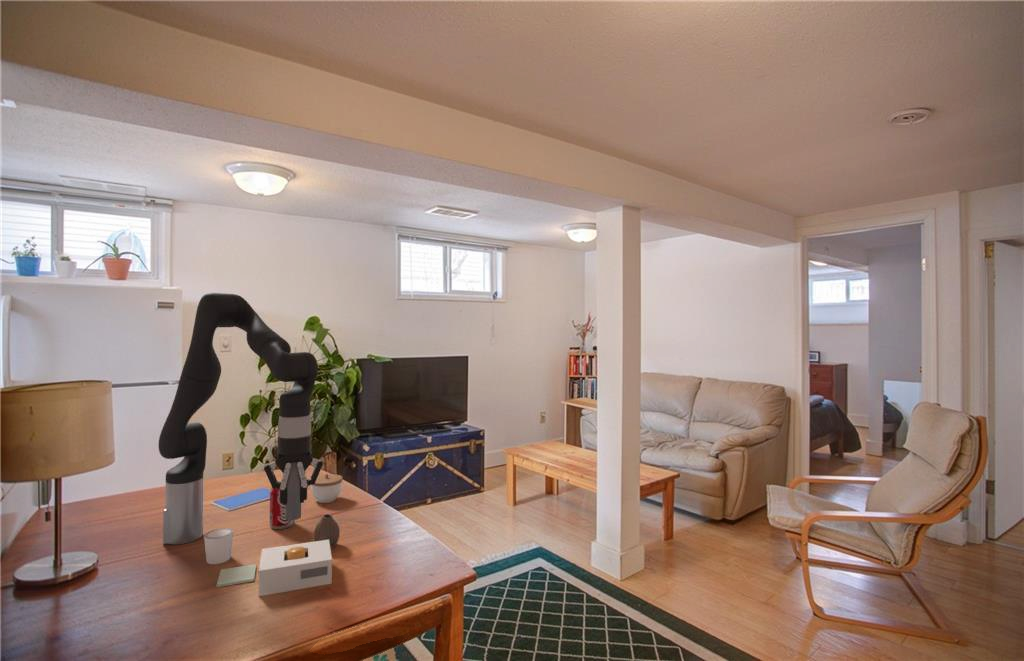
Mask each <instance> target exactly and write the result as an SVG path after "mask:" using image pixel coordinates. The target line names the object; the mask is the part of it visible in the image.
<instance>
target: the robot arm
mask: <svg viewBox="0 0 1024 661" xmlns="http://www.w3.org/2000/svg"><path fill="white" fill-rule="evenodd" d="M196 308H197V309H196V312H195V313H196V314H195V318H194V323H193V324H194V325H193V329H192V334H191V335H192V336H191V340H190V343H189V344H190V345H189V348H188V351H187V355H186V359H185V361H184V365H183V367H182V370H181V374H180V377H179V381H178V384H177V389H176V392H175V396H174V398H173V401H172V404H171V407H170V410H169V413H168V415H167V417H166V419H165V422H164V424H163V426H162V429H161V431H160V435H159V438H158V452H159V454H160V456H161V457H162V458H164V459H167V460H172V459H179V458H183V459H182V460H181V461H180V462H179V463H178V464H176V465H174V466H173V467H171V468H170V469H168V470H167V471H166V473H165V500H164V501H165V506H164V507H165V508H164V510H163V511H162V512H163V513H162V516H163V518H162V523H163V524H162V544H163V545H182V544H183V545H184V544H187V543H190V542H194V541H197V540H199V539H200V538H202V536H204V534H203V531H204V530H203V529H204V516H203V515H204V473H205V470H206V469H205V468H206V464H207V463H206V460H207V448H208V447H207V446H208V435H207V431H206V427H205V426H204V425H203V424H201V423H200V422H190V420H191V418H192V417H193V416H194V415H195V414H196V412H198V410H199V409H201V408H202V407H203V406H204V405H205V404H206V403H207V402H208V401H209V400H210V399H211V397H213V395H214V393H216V392H215V391H216V390H217V388H218V385H219V380H220V378H221V375H222V365H221V362H220V360H219V357H218V355H217V353H216V350H215V349H214V344H213V343H214V342H213V341H214V335H215V332H216V330H217V329H218V328H237V329H240V330H242V331H244V332H245V333H246V343H247V345H248V347H249V348H250V349H251V351H252V352H253V353H255V354H256V355H257V356H258V357H259V358H260V359H262V360H263V361H265V364H266V367H267V368H268V370H269V371H270V373H271V375H272V377H273V378H274V379H276V380H277V381H279V382H284V383H292V382H293V384H292V387H291V389H287V390H285V391H284V392H282V393H281V394H280V395H279V401H278V402H279V403H278V405H279V406H278V408H279V409H278V410H279V411H278V413H279V414H278V416H279V417H278V423H277V424H278V425H277V456H276V458H275V459H274V460H275V461H272V462H270V463H269V462H267V463H265V464H264V468H263V470H264V471H265V474H266V477H267V479H268V481H269V483H270V485H271V488H278V489H279V490H280V502H281V503H283V505H286V483H287V480H288V476H289V472H290V468H291V462H298V463H297V466H298V470H299V475H300V479H301V504H304V503H305V501H307V499H308V487H309V486H311V485H313V484H315V482H316V480H317V477H318V476H320V475H319V474H320V472H321V470H322V467H323V465H324V461H323V459H322V458H319V459H318V458H314V456H313V455H312V421H311V420H312V419H311V397H312V394H313V391H314V388H315V387H314V386H315V383H316V380H317V376H318V372H319V365H318V364H319V363H318V361H317V358H316V357H315V355H314V354H313V353H311V352H306V351H302V352H291V351H292V350H291V349H292V348H291V346H290V345H291V344H289V342H288V341H287V340H286V339H284V338H283V337H282V336H280V335H279V334H278V333H277V332H275V331H274V330H273V329H272V328H270V327H269V325H267V324H266V322H265V321H264V320H263V319H262V318H261V317H260V315H259V314H258V313H257V312H256V311H255V309H253V307H252V306H251V304H250V303H249V302H248V301H247V300H246V299H245V298H244V297H242V296H241V295H239V294H234V293H225V292H224V293H223V292H222V293H220V292H208V293H205V294H204V295H202V296H201V298H200V300H199V302H198V304H197V307H196ZM189 422H190V423H189ZM311 464H312V468H313V471H312V473H311V476H310V478H308V477H307V474H306V470H307V469H308V468H309V466H310V465H311ZM276 467H277V468H278V469H279V470H280V472H282V477H281V481H278V480H277V477H276V475H275V473H274V472H275V471H276ZM307 478H308V479H307Z"/></svg>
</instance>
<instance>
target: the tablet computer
mask: <svg viewBox="0 0 1024 661" xmlns="http://www.w3.org/2000/svg"><path fill="white" fill-rule="evenodd" d="M270 490H271V489H268V488H265V487H259V488H256V489H252V490H249V491H245V492H242V493H238V494H235V495H230V496H227V497H223V498H220V499H216V500H213V501H211V502H210V505H211V506H214V507H217V508H219V509H220V510H221V509H222V510H224V511H226V512H233V511H236V510H238V509H242V508H244V507H245V508H246V507H249V506H252V505H255V504H259V503H262V502H266V501H268V500H269V501H270Z"/></svg>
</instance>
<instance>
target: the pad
mask: <svg viewBox="0 0 1024 661" xmlns="http://www.w3.org/2000/svg"><path fill="white" fill-rule="evenodd" d="M256 570H257V564H256V563H255V564H249V565H242V566H241V565H240V566H236V567H229V568H228V567H227V568H222V569H220V571H219V574H218V578H217V582H216V585H215V586H216V588H221V587H225V586H233V585H239V584H244V583H245V584H246V583H250V582H255V577H256Z"/></svg>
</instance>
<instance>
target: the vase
mask: <svg viewBox="0 0 1024 661" xmlns="http://www.w3.org/2000/svg"><path fill="white" fill-rule="evenodd" d="M340 531H341V530H340V526H339V524H338V522H337V521H336V520H335V519H334V518H333V515H332V514H328V513H327V514H324V515H322V516H321V519H320V520H319V522H317V524H316V526H315V528H314V532H313V542H315V541H322V540H329V543H330V549H332V548H334V547H335V546H336V545H337V544H338V541H339V538H340V536H341V535H340V533H341V532H340Z"/></svg>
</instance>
